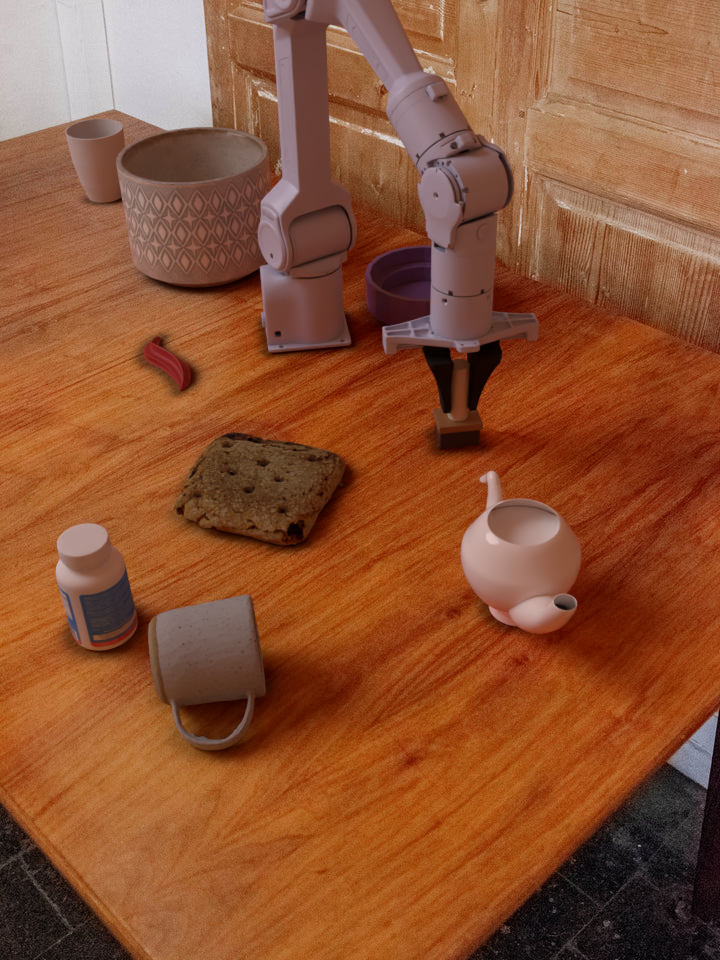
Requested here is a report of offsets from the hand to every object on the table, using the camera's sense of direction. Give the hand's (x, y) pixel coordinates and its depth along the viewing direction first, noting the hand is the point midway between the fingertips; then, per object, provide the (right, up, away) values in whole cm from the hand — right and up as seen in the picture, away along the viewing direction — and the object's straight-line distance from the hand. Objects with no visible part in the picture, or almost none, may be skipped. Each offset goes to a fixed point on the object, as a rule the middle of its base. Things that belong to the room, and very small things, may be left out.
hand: (457, 406), depth 108 cm
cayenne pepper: (-31, +6, +16) cm, 36 cm away
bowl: (-2, +14, +25) cm, 28 cm away
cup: (-47, +34, +53) cm, 79 cm away
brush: (0, -3, +2) cm, 4 cm away
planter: (-30, +21, +36) cm, 51 cm away
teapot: (+3, -18, -16) cm, 24 cm away
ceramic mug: (-21, -24, -23) cm, 39 cm away
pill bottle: (-31, -20, -17) cm, 40 cm away
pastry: (-19, -9, -3) cm, 21 cm away
